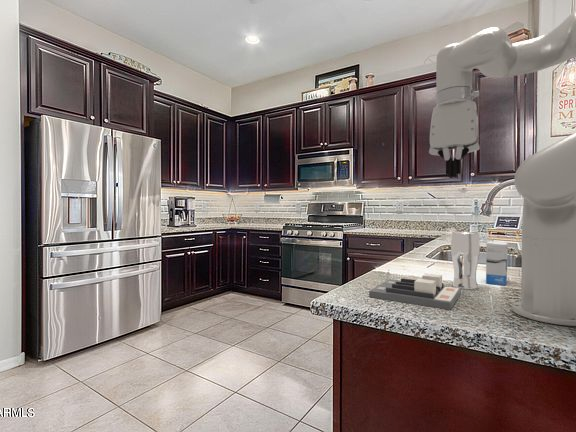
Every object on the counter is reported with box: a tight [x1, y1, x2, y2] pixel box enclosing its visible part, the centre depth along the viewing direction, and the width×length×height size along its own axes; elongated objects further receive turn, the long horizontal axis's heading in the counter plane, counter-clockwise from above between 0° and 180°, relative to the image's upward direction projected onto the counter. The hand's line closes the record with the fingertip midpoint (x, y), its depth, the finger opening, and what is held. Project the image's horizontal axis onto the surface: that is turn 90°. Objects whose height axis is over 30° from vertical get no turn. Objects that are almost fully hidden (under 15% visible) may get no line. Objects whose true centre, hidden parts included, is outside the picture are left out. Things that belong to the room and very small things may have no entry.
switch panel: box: [368, 277, 462, 311], centre depth 80 cm, size 18×16×2 cm
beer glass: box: [450, 231, 481, 290], centre depth 88 cm, size 7×7×15 cm
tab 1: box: [414, 278, 436, 295], centre depth 75 cm, size 4×4×3 cm
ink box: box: [485, 240, 509, 286], centre depth 94 cm, size 8×5×12 cm, turn 143°
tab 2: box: [421, 272, 443, 289], centre depth 81 cm, size 4×4×3 cm
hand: (453, 177), depth 76 cm, fingers closed
